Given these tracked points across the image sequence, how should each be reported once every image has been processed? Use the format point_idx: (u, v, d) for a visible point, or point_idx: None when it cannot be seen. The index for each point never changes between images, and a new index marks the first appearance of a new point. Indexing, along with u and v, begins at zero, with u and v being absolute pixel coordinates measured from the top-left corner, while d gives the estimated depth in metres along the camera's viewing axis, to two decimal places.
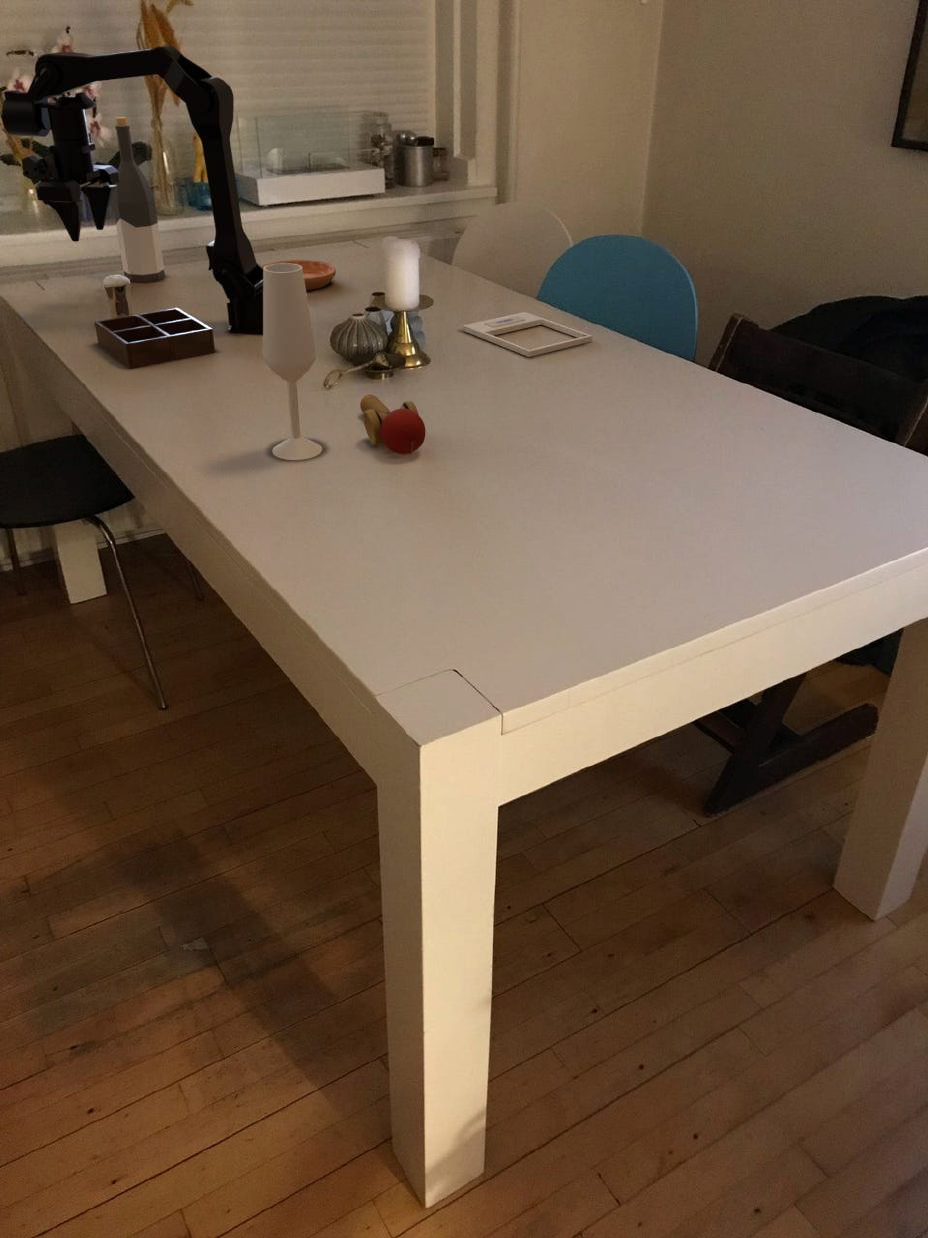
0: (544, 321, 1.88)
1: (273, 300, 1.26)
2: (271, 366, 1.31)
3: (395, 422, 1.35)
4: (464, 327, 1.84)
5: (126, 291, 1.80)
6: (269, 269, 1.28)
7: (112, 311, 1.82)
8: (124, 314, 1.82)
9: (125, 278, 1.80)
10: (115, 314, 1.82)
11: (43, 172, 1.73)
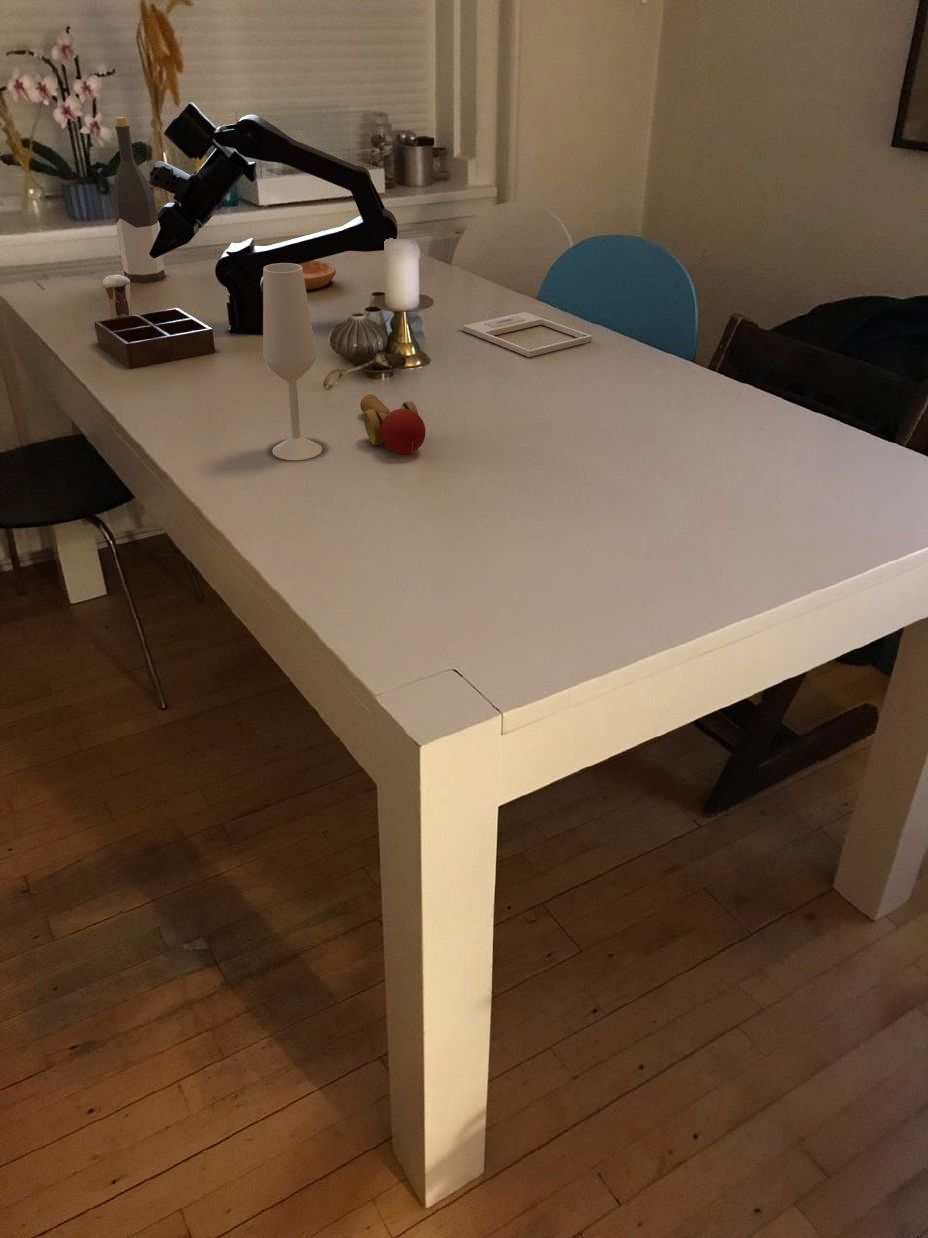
0: (544, 321, 1.88)
1: (273, 300, 1.26)
2: (271, 366, 1.31)
3: (395, 422, 1.35)
4: (464, 327, 1.84)
5: (126, 291, 1.80)
6: (269, 269, 1.28)
7: (112, 311, 1.82)
8: (124, 314, 1.82)
9: (125, 278, 1.80)
10: (115, 314, 1.82)
11: (169, 187, 1.69)
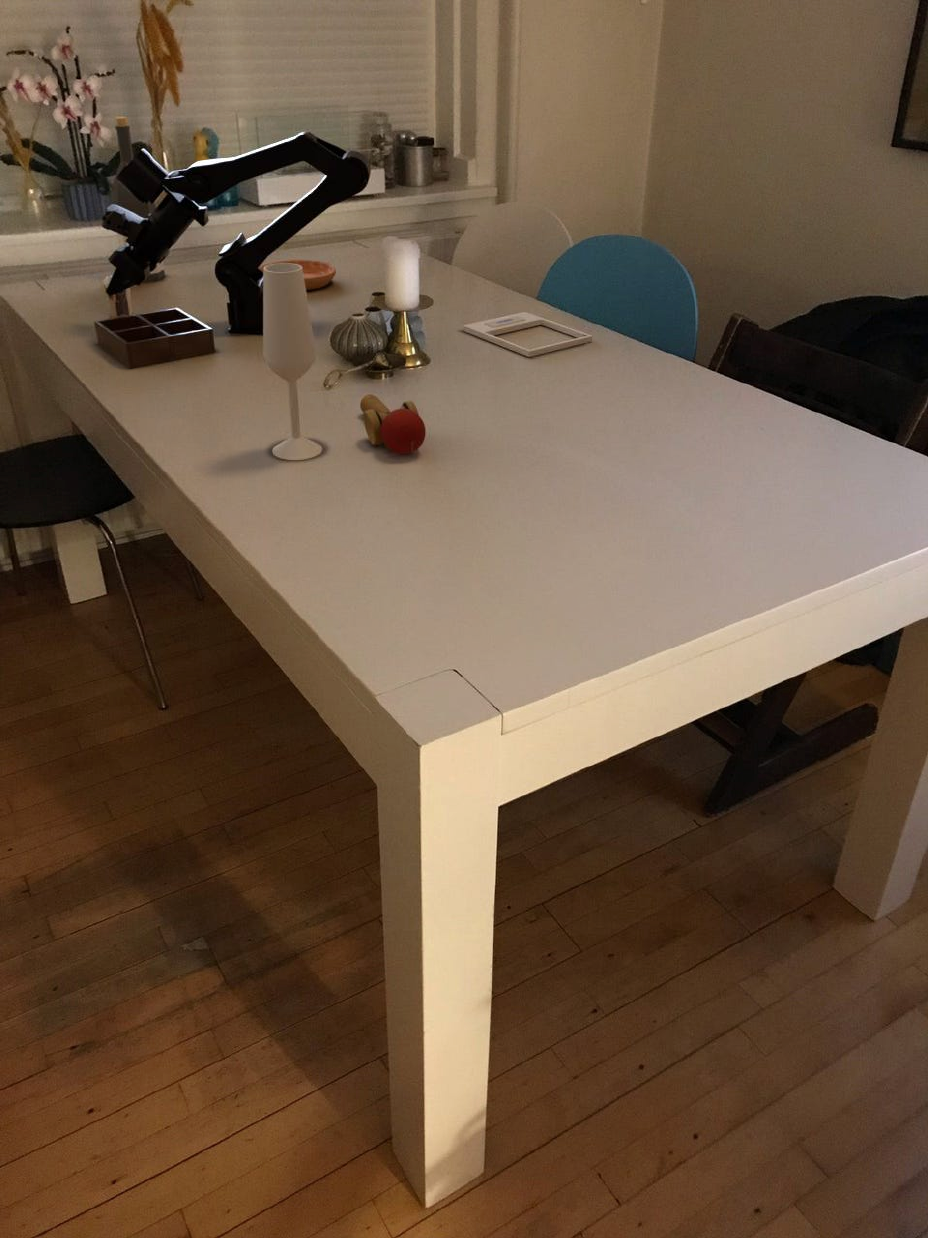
0: (544, 321, 1.88)
1: (273, 300, 1.26)
2: (271, 366, 1.31)
3: (395, 422, 1.35)
4: (464, 327, 1.84)
5: (126, 291, 1.80)
6: (269, 269, 1.28)
7: (112, 311, 1.82)
8: (124, 314, 1.82)
9: None
10: (115, 314, 1.82)
11: (121, 230, 1.73)
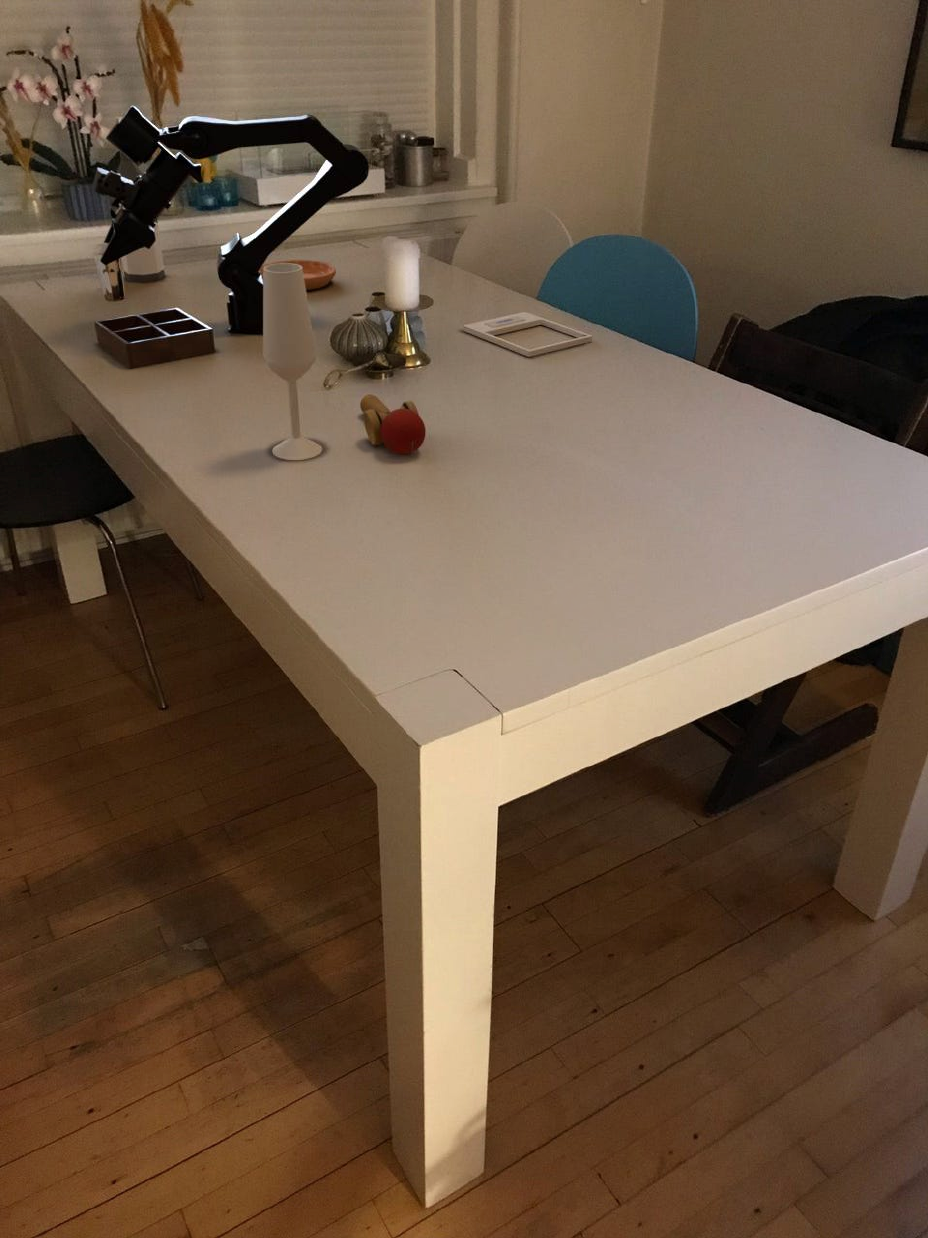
0: (544, 321, 1.88)
1: (273, 300, 1.26)
2: (271, 366, 1.31)
3: (395, 422, 1.35)
4: (464, 327, 1.84)
5: (119, 259, 1.72)
6: (269, 269, 1.28)
7: (105, 282, 1.73)
8: (118, 284, 1.74)
9: None
10: (109, 285, 1.73)
11: None
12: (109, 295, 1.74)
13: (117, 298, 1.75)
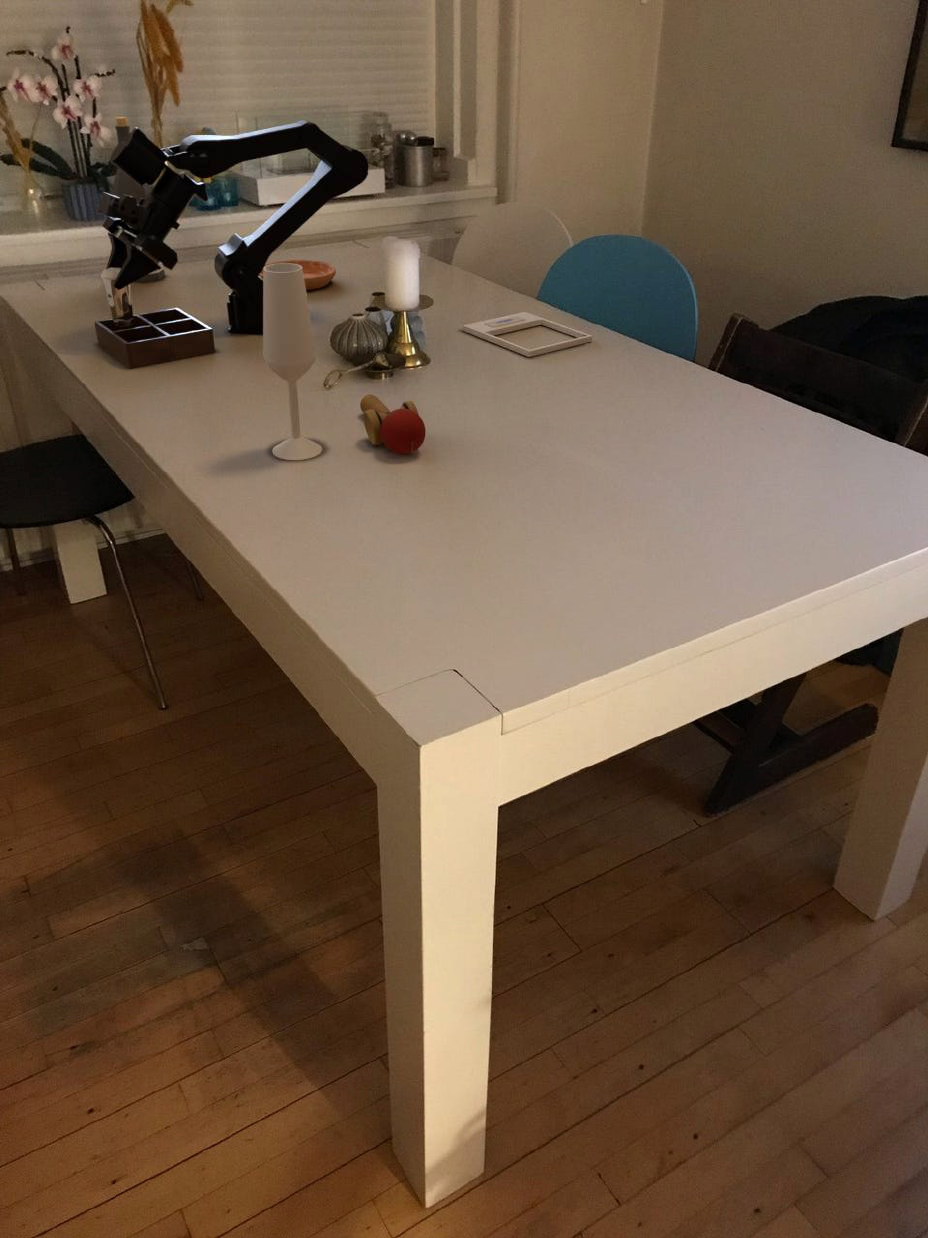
0: (544, 321, 1.88)
1: (273, 300, 1.26)
2: (271, 366, 1.31)
3: (395, 422, 1.35)
4: (464, 327, 1.84)
5: None
6: (269, 269, 1.28)
7: (117, 307, 1.70)
8: (129, 308, 1.71)
9: None
10: (120, 310, 1.71)
11: None
12: (120, 320, 1.72)
13: (129, 323, 1.72)
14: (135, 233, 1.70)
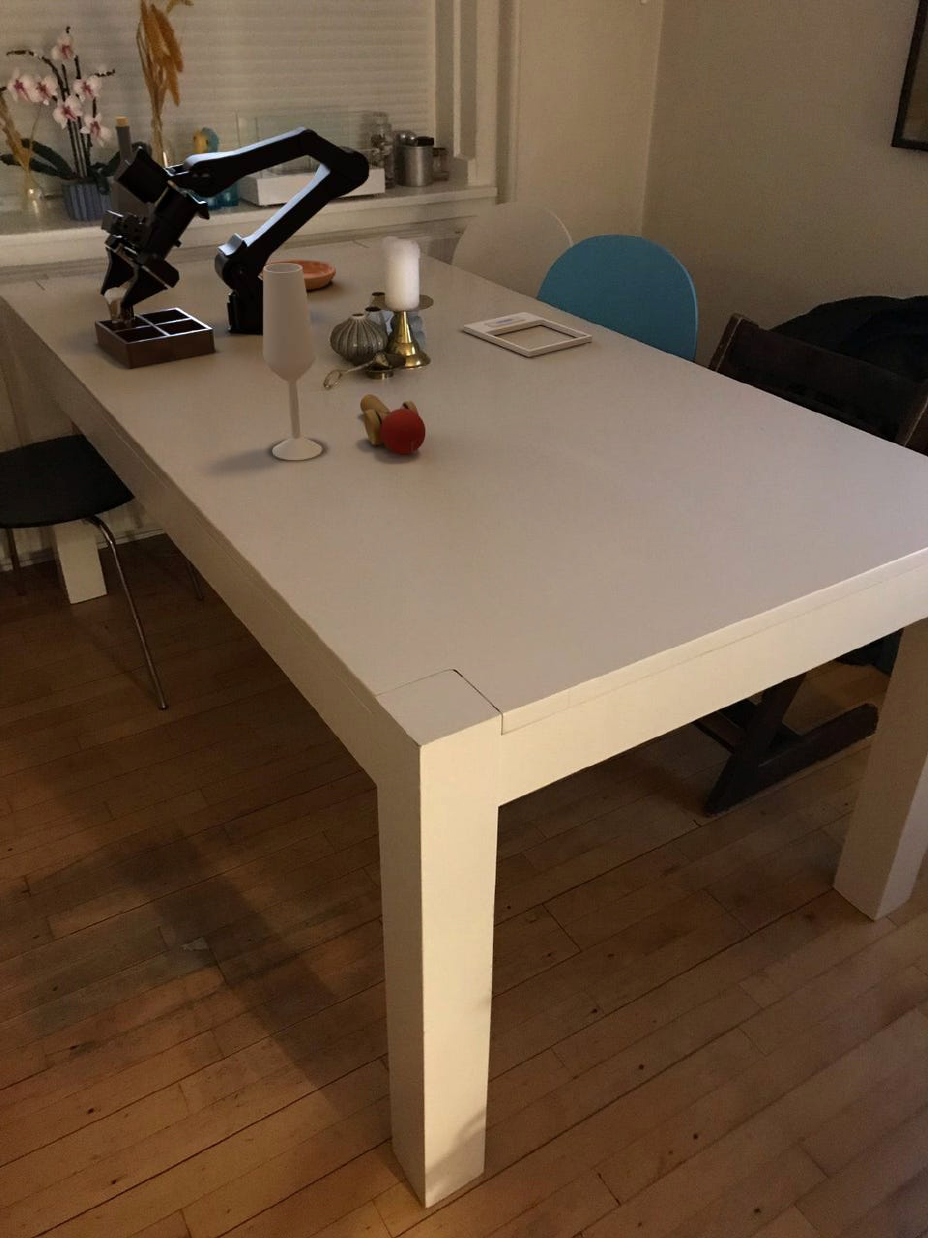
0: (544, 321, 1.88)
1: (273, 300, 1.26)
2: (271, 366, 1.31)
3: (395, 422, 1.35)
4: (464, 327, 1.84)
5: None
6: (269, 269, 1.28)
7: (120, 326, 1.72)
8: (132, 327, 1.73)
9: None
10: (123, 329, 1.72)
11: None
12: None
13: None
14: (137, 251, 1.72)
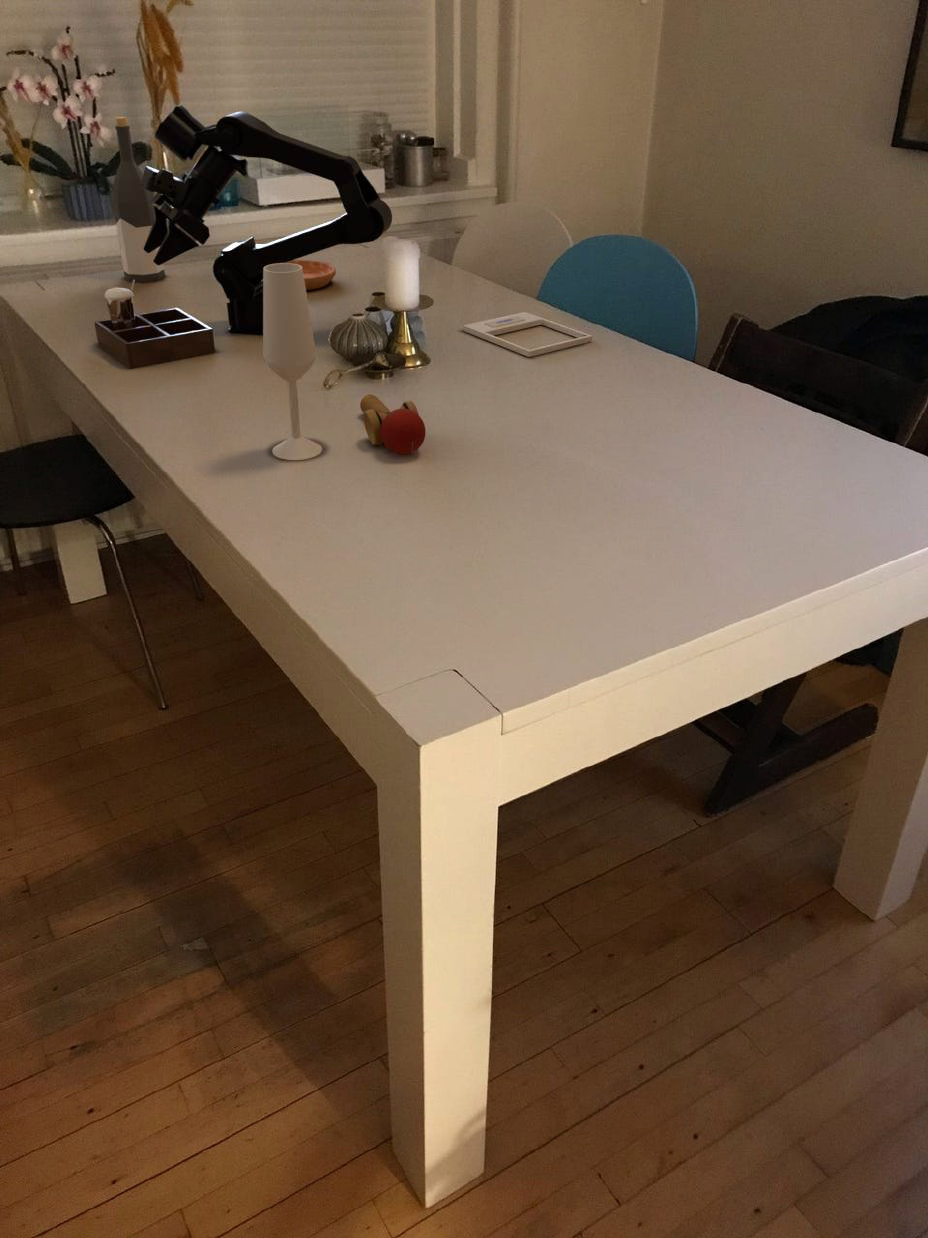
0: (544, 321, 1.88)
1: (273, 300, 1.26)
2: (271, 366, 1.31)
3: (395, 422, 1.35)
4: (464, 327, 1.84)
5: (133, 303, 1.72)
6: (269, 269, 1.28)
7: (120, 326, 1.72)
8: (132, 327, 1.73)
9: (128, 289, 1.71)
10: (123, 329, 1.72)
11: None
12: None
13: None
14: None
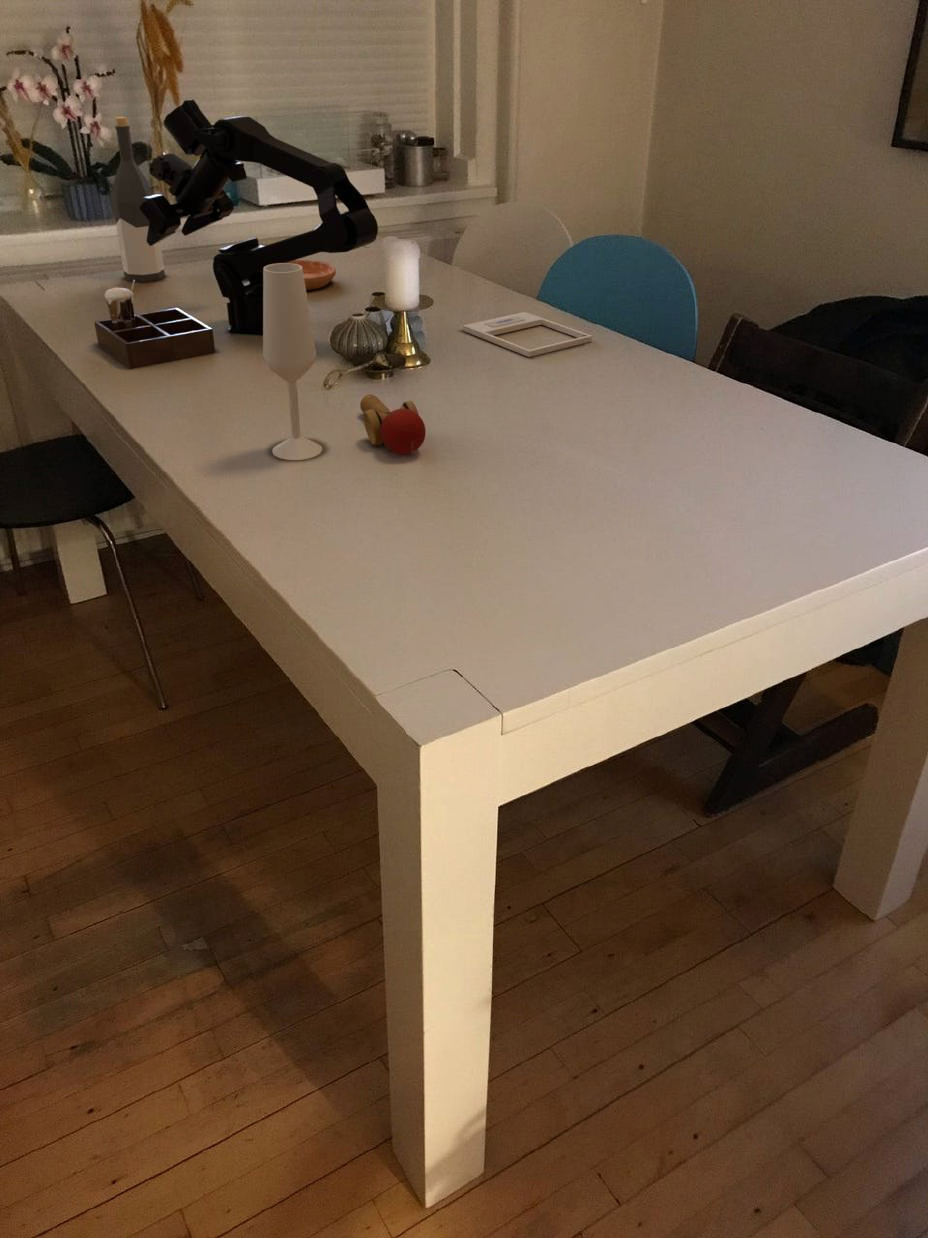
0: (544, 321, 1.88)
1: (273, 300, 1.26)
2: (271, 366, 1.31)
3: (395, 422, 1.35)
4: (464, 327, 1.84)
5: (133, 303, 1.72)
6: (269, 269, 1.28)
7: (120, 326, 1.72)
8: (132, 327, 1.73)
9: (128, 289, 1.71)
10: (123, 329, 1.72)
11: None
12: None
13: None
14: None
